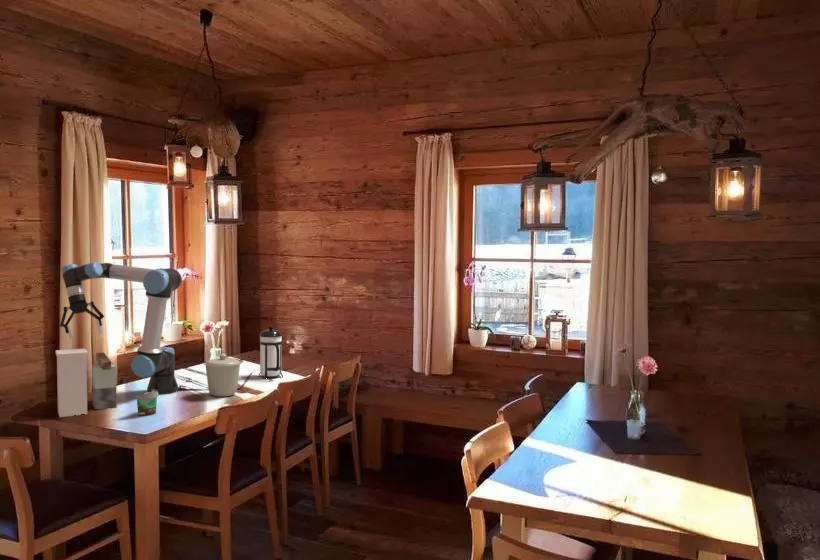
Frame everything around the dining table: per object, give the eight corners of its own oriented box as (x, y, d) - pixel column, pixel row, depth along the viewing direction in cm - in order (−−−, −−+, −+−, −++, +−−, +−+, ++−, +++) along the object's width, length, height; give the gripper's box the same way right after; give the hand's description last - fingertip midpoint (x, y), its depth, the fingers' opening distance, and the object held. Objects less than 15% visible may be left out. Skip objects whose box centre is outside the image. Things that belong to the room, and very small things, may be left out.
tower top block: (113, 383, 318) (113, 362, 317) (116, 387, 309) (116, 366, 309) (92, 384, 313) (92, 364, 313) (95, 389, 305) (94, 368, 304)
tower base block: (113, 403, 318) (113, 383, 318) (116, 407, 310) (116, 387, 309) (92, 405, 314) (92, 384, 313) (95, 410, 305) (95, 389, 305)
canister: (240, 398, 332) (240, 356, 331) (202, 399, 328) (202, 357, 327) (241, 390, 350) (241, 350, 349) (205, 391, 346) (205, 351, 345)
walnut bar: (103, 359, 326) (103, 352, 326) (111, 369, 302) (111, 361, 302) (96, 360, 324) (95, 352, 324) (102, 369, 300) (102, 362, 300)
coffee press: (251, 378, 379) (251, 326, 377) (266, 373, 394) (266, 323, 392) (278, 381, 374) (278, 328, 372) (292, 375, 389) (292, 324, 387)
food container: (148, 417, 293) (148, 395, 293) (136, 416, 294) (135, 394, 294) (164, 411, 305) (164, 389, 305) (152, 410, 306) (152, 388, 306)
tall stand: (85, 408, 308) (85, 348, 306) (88, 414, 297) (87, 352, 296) (56, 411, 301) (55, 350, 300) (58, 417, 291) (57, 354, 290)
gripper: (101, 291, 344) (111, 330, 344) (47, 301, 330) (57, 342, 330) (103, 289, 338) (113, 329, 338) (49, 299, 324) (59, 341, 324)
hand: (86, 336), depth 334 cm, fingers open, 13 cm apart
